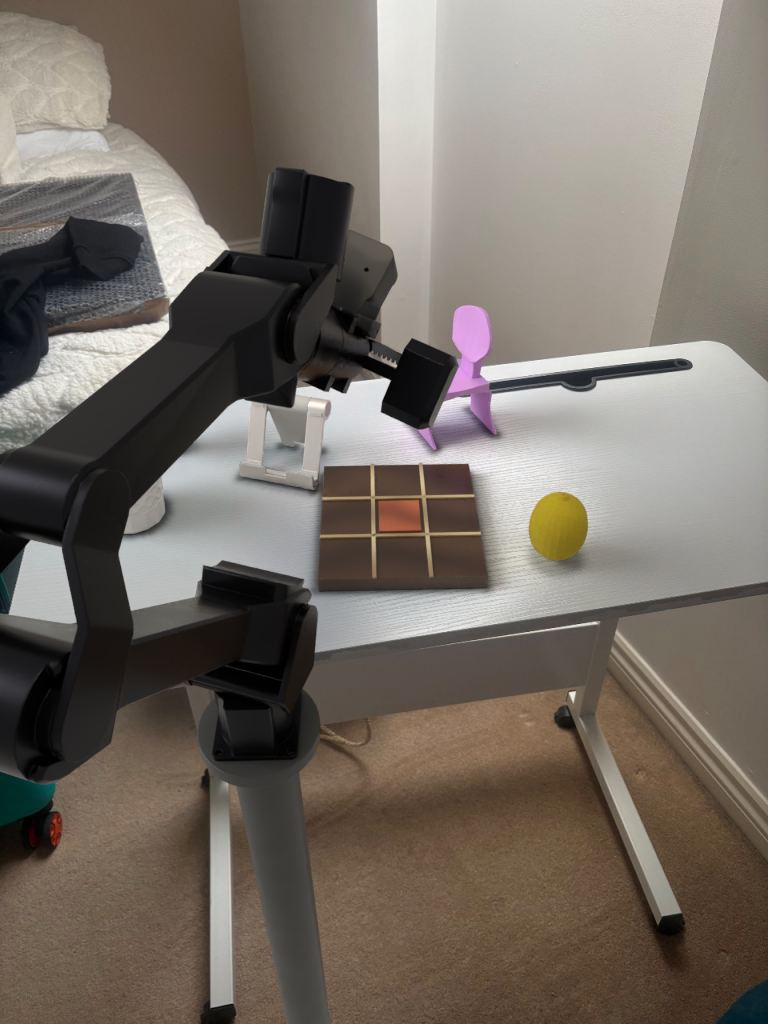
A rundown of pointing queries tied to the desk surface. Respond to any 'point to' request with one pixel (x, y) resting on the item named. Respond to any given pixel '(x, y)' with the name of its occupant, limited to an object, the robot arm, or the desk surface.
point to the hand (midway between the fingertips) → (368, 356)
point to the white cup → (146, 510)
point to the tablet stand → (288, 439)
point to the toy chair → (470, 364)
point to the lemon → (558, 526)
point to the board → (399, 528)
